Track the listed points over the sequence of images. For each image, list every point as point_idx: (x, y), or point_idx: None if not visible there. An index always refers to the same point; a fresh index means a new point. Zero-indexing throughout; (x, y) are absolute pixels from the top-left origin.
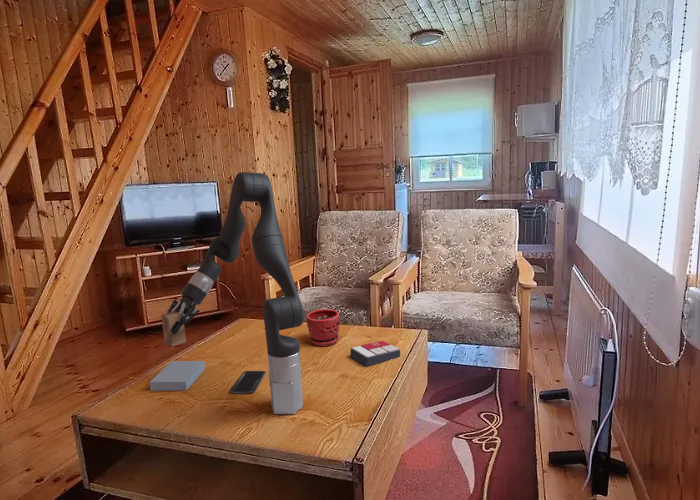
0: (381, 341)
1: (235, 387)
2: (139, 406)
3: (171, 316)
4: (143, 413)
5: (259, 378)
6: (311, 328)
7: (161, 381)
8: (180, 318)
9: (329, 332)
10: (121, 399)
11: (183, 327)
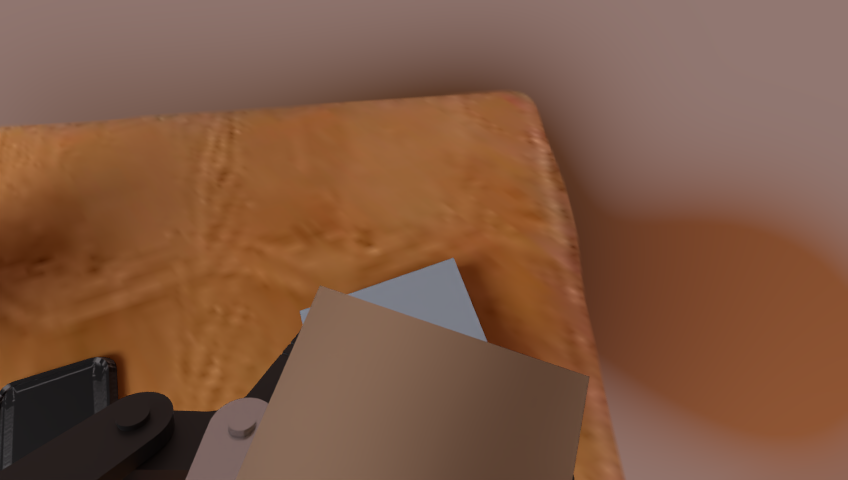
0: None
1: (96, 400)
2: (395, 176)
3: (311, 353)
4: (348, 151)
5: None
6: None
7: (407, 278)
8: (200, 449)
9: None
10: (494, 188)
11: None
